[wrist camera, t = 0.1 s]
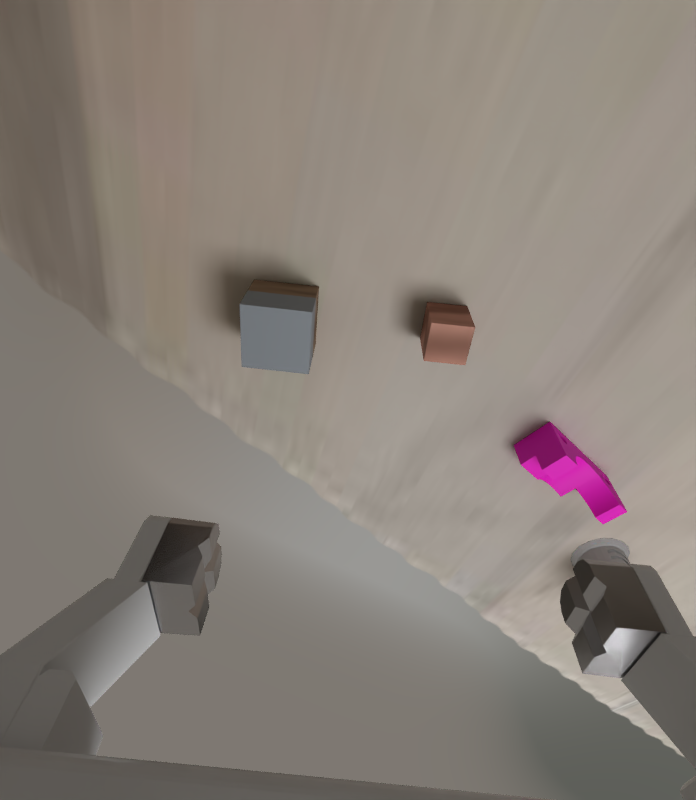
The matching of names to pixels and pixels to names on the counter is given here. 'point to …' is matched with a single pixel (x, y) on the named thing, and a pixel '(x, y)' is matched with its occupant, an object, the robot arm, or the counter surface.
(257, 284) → the tower base
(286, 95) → the counter surface
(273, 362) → the tower middle
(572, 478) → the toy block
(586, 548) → the french press
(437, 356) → the reddish brown cube
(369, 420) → the counter surface
